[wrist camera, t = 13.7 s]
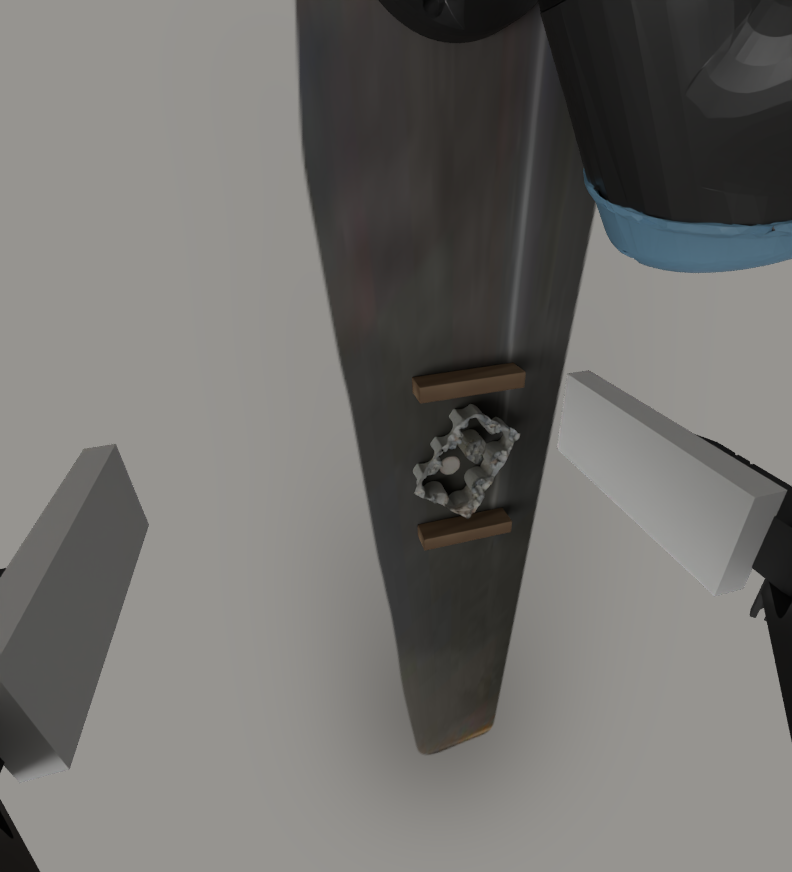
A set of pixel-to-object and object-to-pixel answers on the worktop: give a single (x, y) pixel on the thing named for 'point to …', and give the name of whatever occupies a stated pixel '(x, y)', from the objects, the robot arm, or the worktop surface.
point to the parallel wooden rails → (456, 387)
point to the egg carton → (474, 451)
